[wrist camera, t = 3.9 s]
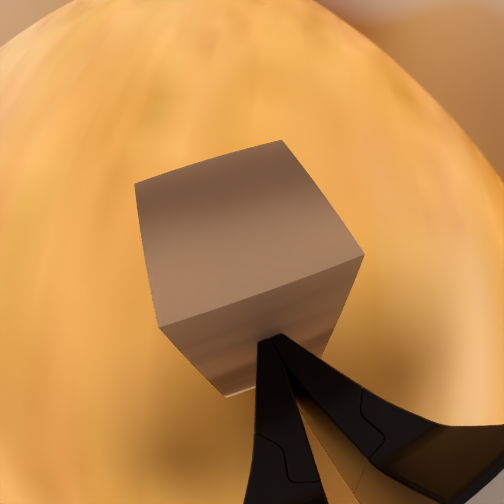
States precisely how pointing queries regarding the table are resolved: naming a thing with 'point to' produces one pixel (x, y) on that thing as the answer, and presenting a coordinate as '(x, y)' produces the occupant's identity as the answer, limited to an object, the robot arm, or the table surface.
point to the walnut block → (243, 259)
